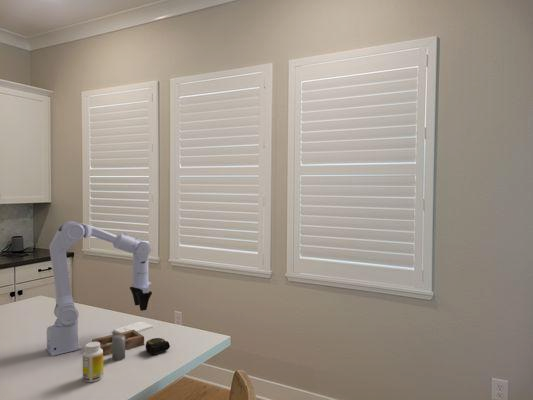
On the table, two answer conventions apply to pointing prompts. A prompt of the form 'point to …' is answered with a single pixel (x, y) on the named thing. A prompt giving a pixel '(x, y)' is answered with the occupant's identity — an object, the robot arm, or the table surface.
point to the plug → (118, 347)
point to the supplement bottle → (92, 362)
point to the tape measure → (157, 345)
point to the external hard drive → (134, 327)
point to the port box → (131, 341)
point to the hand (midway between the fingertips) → (140, 307)
